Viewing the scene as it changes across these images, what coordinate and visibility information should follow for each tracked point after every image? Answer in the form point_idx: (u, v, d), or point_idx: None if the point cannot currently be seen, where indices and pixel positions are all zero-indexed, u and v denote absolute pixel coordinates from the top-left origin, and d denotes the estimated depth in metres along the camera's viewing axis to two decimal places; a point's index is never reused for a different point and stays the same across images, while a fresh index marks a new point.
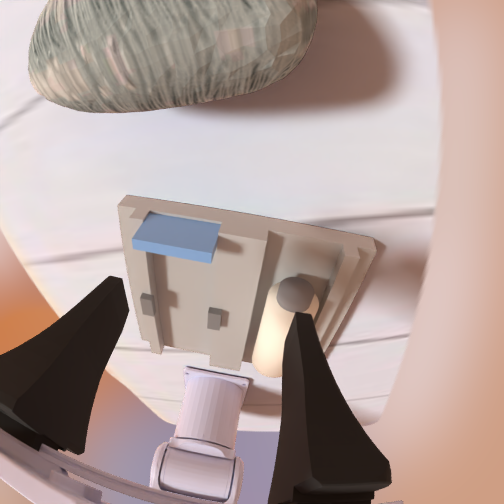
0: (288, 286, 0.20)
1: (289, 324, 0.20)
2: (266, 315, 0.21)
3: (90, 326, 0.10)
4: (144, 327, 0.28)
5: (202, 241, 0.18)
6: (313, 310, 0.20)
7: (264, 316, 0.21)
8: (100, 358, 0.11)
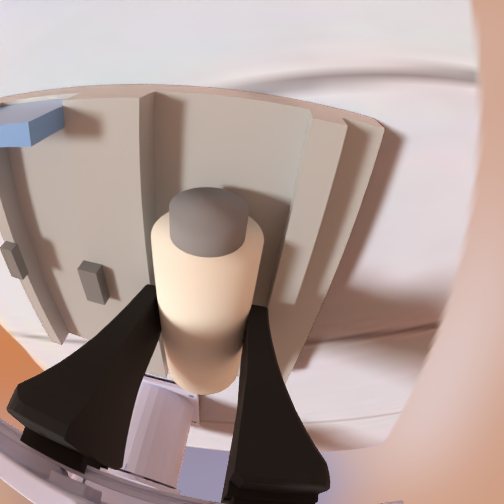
0: (191, 200, 0.09)
1: (187, 283, 0.09)
2: None
3: (133, 338, 0.10)
4: None
5: (31, 114, 0.07)
6: (247, 255, 0.09)
7: None
8: (139, 370, 0.11)
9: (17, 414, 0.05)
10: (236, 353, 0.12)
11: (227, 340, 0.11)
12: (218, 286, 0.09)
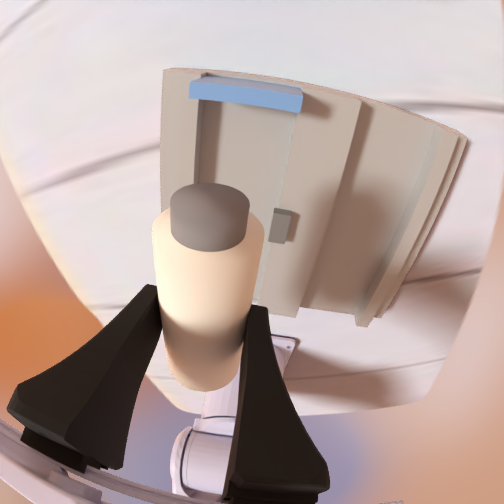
0: (193, 195, 0.09)
1: (186, 277, 0.09)
2: (154, 261, 0.10)
3: (133, 338, 0.10)
4: None
5: (285, 90, 0.13)
6: (246, 250, 0.09)
7: None
8: (139, 370, 0.11)
9: (17, 414, 0.05)
10: (236, 350, 0.12)
11: (226, 336, 0.11)
12: (217, 281, 0.09)
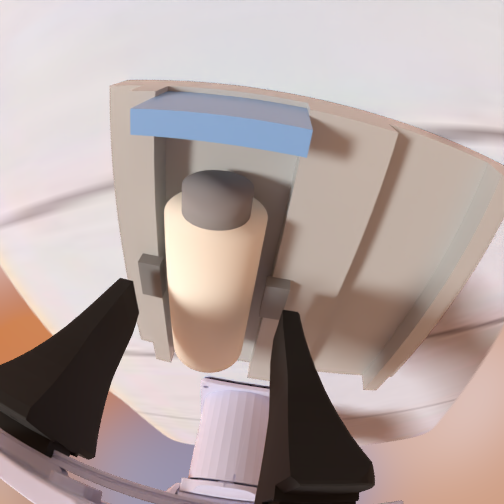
0: (202, 180, 0.10)
1: (196, 253, 0.10)
2: (165, 242, 0.11)
3: (101, 329, 0.10)
4: (144, 319, 0.18)
5: (284, 116, 0.08)
6: (251, 230, 0.10)
7: (165, 246, 0.11)
8: (111, 362, 0.11)
9: None
10: (240, 329, 0.13)
11: (231, 314, 0.12)
12: (225, 258, 0.10)
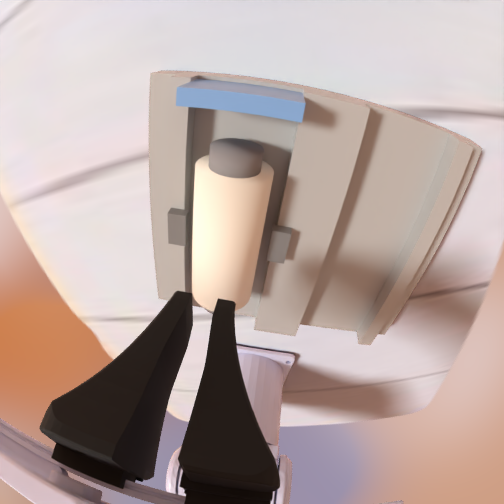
0: (225, 143, 0.13)
1: (221, 194, 0.13)
2: (194, 191, 0.14)
3: (168, 347, 0.09)
4: (164, 276, 0.21)
5: (285, 96, 0.11)
6: (262, 178, 0.13)
7: None
8: (171, 378, 0.11)
9: (55, 434, 0.05)
10: (250, 269, 0.16)
11: (245, 250, 0.15)
12: (242, 197, 0.13)
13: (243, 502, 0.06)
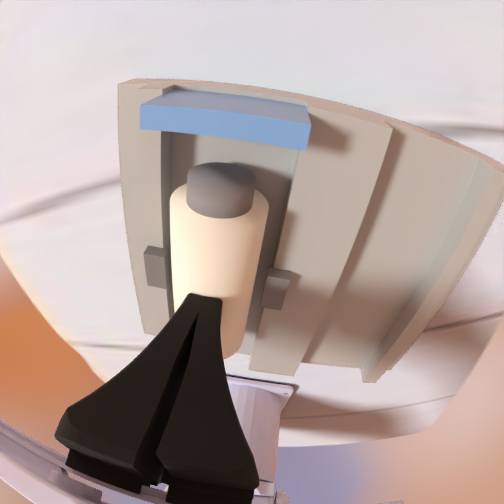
0: (206, 171, 0.11)
1: (200, 240, 0.10)
2: (170, 230, 0.11)
3: (183, 351, 0.09)
4: (148, 312, 0.19)
5: (284, 113, 0.09)
6: (253, 218, 0.10)
7: (170, 235, 0.12)
8: None
9: (72, 442, 0.05)
10: (241, 318, 0.13)
11: (233, 301, 0.12)
12: (227, 244, 0.10)
13: (224, 499, 0.06)
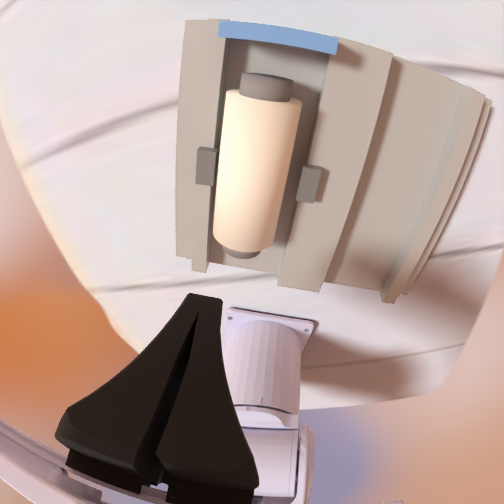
0: (256, 74, 0.13)
1: (249, 112, 0.12)
2: (223, 116, 0.14)
3: (183, 351, 0.09)
4: (184, 229, 0.21)
5: None
6: (290, 104, 0.12)
7: None
8: None
9: (72, 442, 0.05)
10: (275, 203, 0.15)
11: (270, 178, 0.14)
12: (270, 117, 0.12)
13: (224, 500, 0.06)
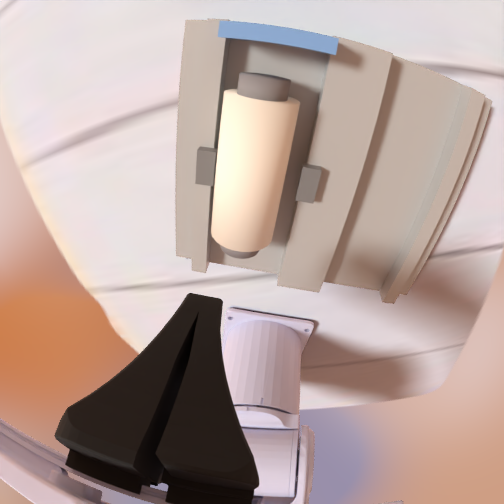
0: (254, 74, 0.13)
1: (244, 111, 0.12)
2: (221, 116, 0.14)
3: (183, 351, 0.09)
4: (184, 229, 0.21)
5: None
6: (286, 103, 0.12)
7: None
8: None
9: (72, 442, 0.05)
10: (271, 203, 0.15)
11: (265, 178, 0.14)
12: (265, 116, 0.12)
13: (224, 500, 0.06)
